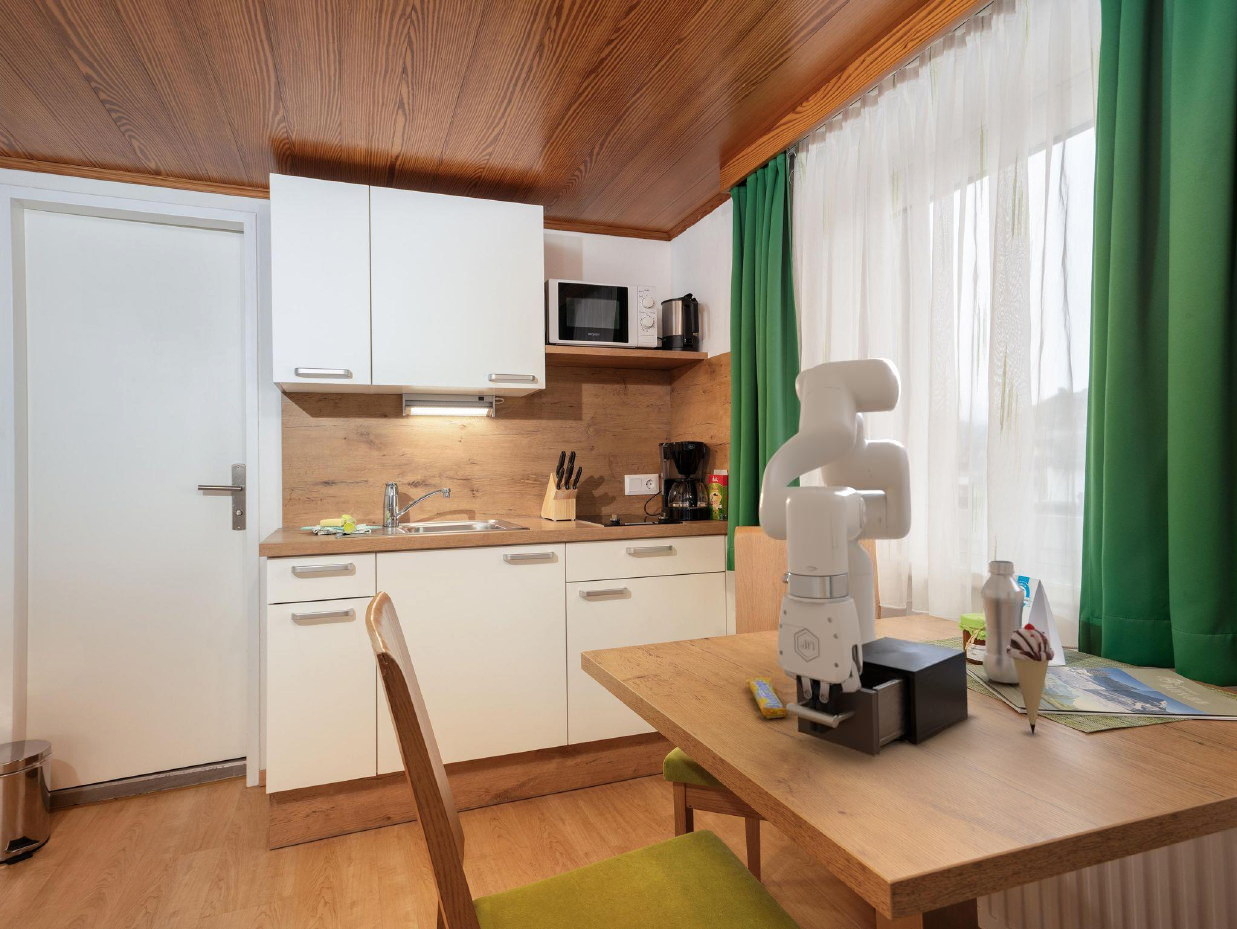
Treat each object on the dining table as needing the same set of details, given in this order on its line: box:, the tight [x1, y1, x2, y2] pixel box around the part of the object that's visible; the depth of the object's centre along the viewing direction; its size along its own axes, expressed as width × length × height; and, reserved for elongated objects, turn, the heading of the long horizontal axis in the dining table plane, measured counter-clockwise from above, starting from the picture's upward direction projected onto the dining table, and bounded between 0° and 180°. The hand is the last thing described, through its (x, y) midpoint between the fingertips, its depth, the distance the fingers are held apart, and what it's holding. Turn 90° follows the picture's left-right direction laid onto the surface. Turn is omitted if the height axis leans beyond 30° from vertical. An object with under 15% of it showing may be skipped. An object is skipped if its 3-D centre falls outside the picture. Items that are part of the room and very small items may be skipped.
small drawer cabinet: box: [862, 636, 969, 745], centre depth 102 cm, size 15×13×10 cm
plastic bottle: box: [980, 560, 1025, 684], centre depth 117 cm, size 6×7×20 cm
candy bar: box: [745, 676, 789, 720], centre depth 111 cm, size 17×4×2 cm, turn 178°
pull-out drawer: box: [785, 666, 911, 757], centre depth 94 cm, size 19×11×8 cm, turn 129°
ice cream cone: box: [1006, 623, 1055, 735], centre depth 94 cm, size 6×6×15 cm
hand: (823, 729), depth 90 cm, fingers closed
